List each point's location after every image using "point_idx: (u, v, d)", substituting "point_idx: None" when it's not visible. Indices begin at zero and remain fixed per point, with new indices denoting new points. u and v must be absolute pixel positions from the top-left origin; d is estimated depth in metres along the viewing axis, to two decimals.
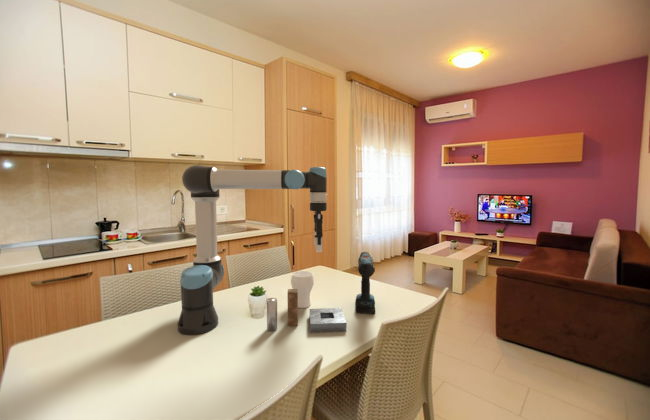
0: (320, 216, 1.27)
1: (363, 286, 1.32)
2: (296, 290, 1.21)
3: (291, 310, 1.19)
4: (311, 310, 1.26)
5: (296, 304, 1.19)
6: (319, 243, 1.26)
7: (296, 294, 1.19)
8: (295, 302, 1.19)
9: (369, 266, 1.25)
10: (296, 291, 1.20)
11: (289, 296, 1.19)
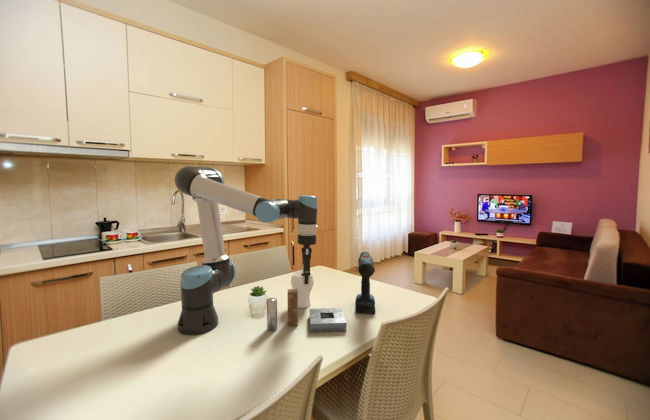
0: (308, 252, 1.13)
1: (363, 286, 1.32)
2: (296, 290, 1.21)
3: (291, 310, 1.19)
4: (311, 310, 1.26)
5: (296, 304, 1.19)
6: (306, 282, 1.12)
7: (296, 294, 1.19)
8: (295, 302, 1.19)
9: (369, 266, 1.25)
10: (296, 291, 1.20)
11: (289, 296, 1.19)
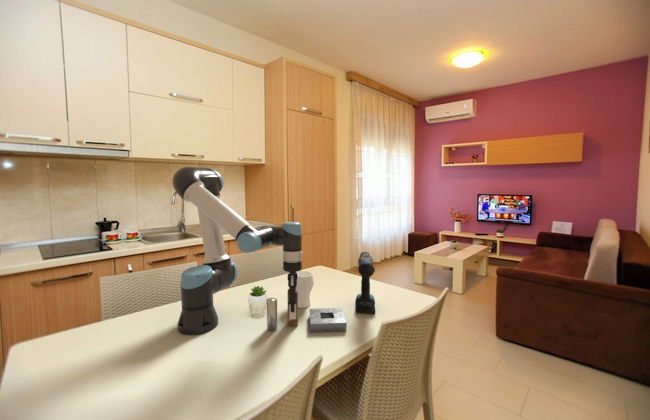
0: (293, 284, 1.14)
1: (363, 286, 1.32)
2: (296, 290, 1.21)
3: None
4: (311, 310, 1.26)
5: (296, 304, 1.19)
6: (292, 310, 1.18)
7: (296, 294, 1.19)
8: None
9: (369, 266, 1.25)
10: (296, 291, 1.20)
11: None
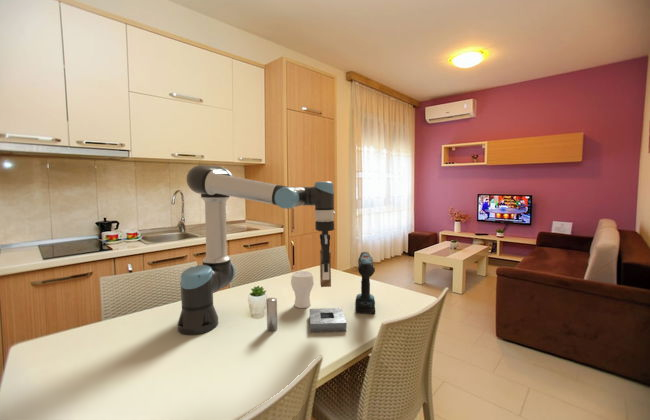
0: (327, 242, 1.13)
1: (363, 286, 1.32)
2: None
3: None
4: (311, 310, 1.26)
5: (329, 264, 1.18)
6: (326, 270, 1.16)
7: (329, 254, 1.18)
8: None
9: (369, 266, 1.25)
10: (329, 251, 1.18)
11: (322, 256, 1.17)
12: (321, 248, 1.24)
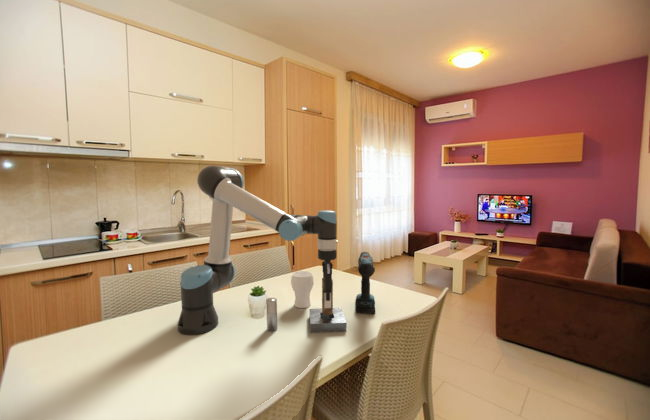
0: (330, 272, 1.14)
1: (363, 286, 1.32)
2: None
3: None
4: (311, 310, 1.26)
5: (331, 293, 1.19)
6: (328, 299, 1.17)
7: None
8: None
9: (369, 266, 1.25)
10: None
11: (324, 285, 1.19)
12: (323, 275, 1.25)
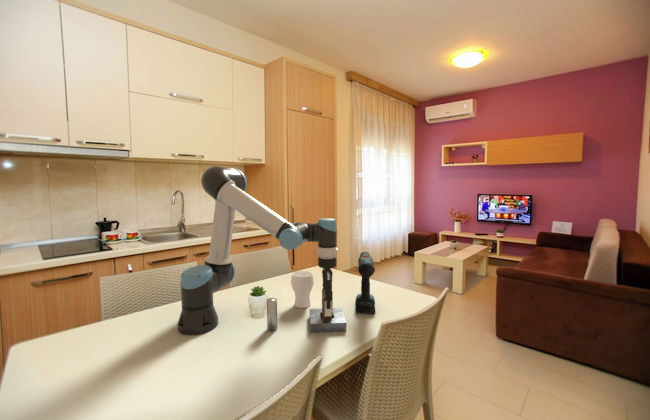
0: (330, 278, 1.14)
1: (363, 286, 1.32)
2: None
3: None
4: (311, 310, 1.26)
5: None
6: (328, 307, 1.15)
7: None
8: None
9: (369, 266, 1.25)
10: None
11: (324, 296, 1.19)
12: None
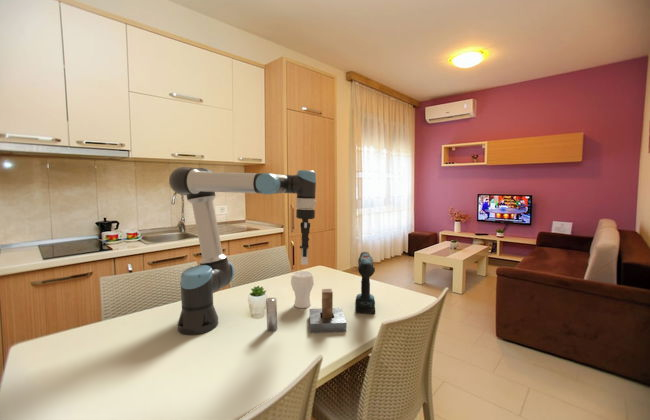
0: (307, 225, 1.14)
1: (363, 286, 1.32)
2: (330, 290, 1.21)
3: (326, 310, 1.19)
4: (311, 310, 1.26)
5: (331, 304, 1.19)
6: (304, 255, 1.14)
7: (331, 294, 1.19)
8: (330, 302, 1.19)
9: (369, 266, 1.25)
10: (331, 291, 1.20)
11: (324, 296, 1.19)
12: None
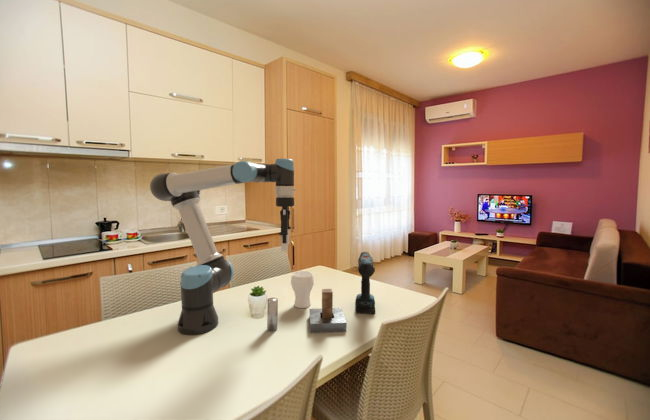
0: (285, 212, 1.16)
1: (363, 286, 1.32)
2: (330, 290, 1.21)
3: (326, 310, 1.19)
4: (311, 310, 1.26)
5: (331, 304, 1.19)
6: (284, 241, 1.16)
7: (331, 294, 1.19)
8: (330, 302, 1.19)
9: (369, 266, 1.25)
10: (331, 291, 1.20)
11: (324, 296, 1.19)
12: None
